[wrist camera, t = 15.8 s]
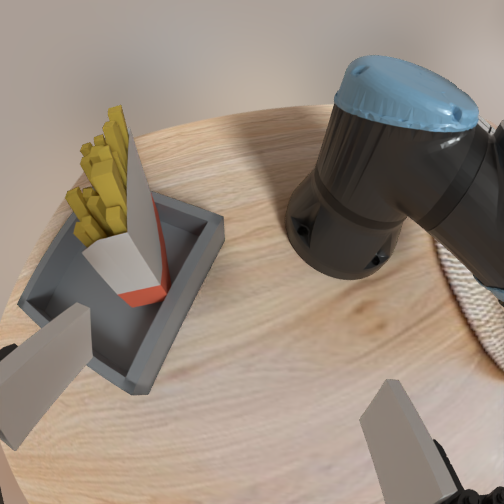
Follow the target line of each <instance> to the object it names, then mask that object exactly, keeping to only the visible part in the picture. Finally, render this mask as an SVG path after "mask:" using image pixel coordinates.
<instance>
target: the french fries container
mask: <svg viewBox="0 0 504 504" xmlns="http://www.w3.org/2000/svg"><path fill="white" fill-rule="evenodd" d="M108 117H109V120H110V121H109V122H106V123H105V124H104V126H103V132H104V135H105V139H104V136H103V134H102V135H99V136H96V137H94V144H95V146H92V144H91V143H90V142H89V143H86V144H83V145H82V147H81V150H80V152H81V153H82V154H83V156H84V157H82V160H81V163H80V165H81V167H82V169H83V170H84V172H85V174H86V176H87V177H88V179H89V181H90V183H91V184H92V186H93V188H94V189H95V190H94V189H93V188H92V187H87V188H84V189H83V194H82V192H81V190H80V188H79V187H76V188H74V189H72V190H69V191H67V194H66V197H65V199H66V200H67V202H68V204H69V205H70V207H71V208H72V210H73V211H74V213H75V215H76V216H77V218H78V219H79V221H80V222H76V224H75V229H74V233H73V234H74V235H75V236H76V237H77V238H78V239H79V240H80V241H81V242H82V243H83V244H84V245H85V246H86V247H87V248H86V249H85V250H84V251H83V252H82V254H83V255H84V257H85V258H86V259H87V260H88V261H89V263H90V264H91V265H92V266H93V267H94V269H95V270H96V271H97V272H98V273H99V274H100V276H101V277H102V278H103V279H104V280H105V281H106V283H107V284H108V285H109V286H110V287H111V288H112V289H113V290H114V291H115V293H116V294H117V295H118V296H120V297H121V298H122V299H123V300H124V301H125V302H126V303H127V304H129V305H130V306H131V307H132V308H133V307H138V306H143V305H147V304H152V303H157V302H161V301H164V300H165V298H166V296H167V294H168V292H169V290H170V288H171V280H170V274H169V267H168V261H167V254H166V247H165V241H164V236H163V232H162V228H161V223H160V219H159V214H158V210H157V208H156V205H155V202H154V199H153V197H152V194H151V191H150V188H149V185H148V182H147V179H146V176H145V173H144V170H143V167H142V164H141V161H140V158H139V155H138V152H137V149H136V146H135V142H134V139H133V136H132V133H131V129H130V127H129V128H127V126H126V122H125V118H124V114H123V110H122V106H121V105H119V106H116V107H112V108H109V109H108Z"/></svg>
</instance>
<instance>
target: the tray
mask: <svg viewBox="0 0 504 504" xmlns="http://www.w3.org/2000/svg"><path fill="white" fill-rule="evenodd" d="M92 188H93V187H92ZM93 189H94V188H93ZM94 190H95V189H94ZM151 194H152V197H153V199H154V202H155V205H156V208H157V210H158V214H159V219H160V223H161V228H162V232H163V236H164V241H165V247H166V254H167V261H168V267H169V274H170V280H171V288H170V290H169V292H168V294H167V296H166V298H165V300H164V301H161V302H157V303H152V304H147V305H143V306H138V307H133V308H132V307H131V306H130V305H129V304H127V303H126V302H125V301H124V300H123V299H122V298H121V297H120V296H118V295H117V294H116V293H115V291H114V290H113V289H112V288H111V287H110V286H109V285H108V284H107V283H106V281H105V280H104V279H103V278H102V277H101V276H100V274H99V273H98V272H97V271H96V270H95V269H94V267H93V266H92V265H91V264H90V263H89V261H88V260H87V259H86V258H85V257H84V255H83V254H82V252H83V251H84V250H85V249H86V248H87V247H86V246H85V245H84V244H83V243H82V242H81V241H80V240H79V239H78V238H77V237H76V236H75V235H74V234H73V233H74V229H75V224H76V222H80V221H79V219H78V218H77V216H76V215H75V213H74V211H73V213H72V214H71V215H70V217H69V218H68V219H67V221H66V222H65V224H64V225H63V227H62V228H61V229H60V231H59V232H58V234H57V235H56V237H55V238H54V240H53V241H52V243H51V245H50V246H49V248H48V249H47V251H46V253H45V254H44V256H43V257H42V259H41V261H40V262H39V264H38V266H37V268H36V269H35V271H34V273H33V275H32V276H31V278H30V280H29V282H28V284H27V286H26V288H25V289H24V291H23V293H22V295H21V297H20V299H19V301H18V303H17V305H18V306H19V307H20V308H21V309H22V310H23V311H24V312H25V313H26V314H27V315H28V316H29V317H30V318H31V319H32V320H33V321H34V322H35V323H36V324H37V325H39V326H40V327H41V328H43V327H44V326H45V325H47V324H48V323H49V322H51V321H52V320H53V319H55V318H56V317H57V316H59V315H60V314H61V313H63V312H64V311H65V310H67V309H68V308H69V307H71V306H72V305H74V304H75V303H76V302H77V303H80V304H82V305H84V306H86V307H89V308H90V320H91V340H92V353H93V358H92V359H91V360H90V361H89V362H88V363H87V366H88V367H90V368H91V369H92V370H94V371H95V372H97V373H98V374H99V375H101V376H102V377H104V378H105V379H107V380H108V381H110V382H111V383H113V384H114V385H116V386H117V387H119V388H121V389H122V390H124V391H125V392H127V393H129V394H130V395H148V394H149V392H150V390H151V388H152V386H153V383H154V381H155V379H156V377H157V375H158V373H159V371H160V369H161V366H162V364H163V362H164V360H165V358H166V356H167V354H168V352H169V350H170V348H171V346H172V344H173V341H174V339H175V337H176V335H177V333H178V331H179V329H180V327H181V325H182V323H183V321H184V319H185V317H186V315H187V313H188V311H189V309H190V307H191V305H192V303H193V301H194V299H195V297H196V295H197V293H198V291H199V289H200V287H201V285H202V283H203V281H204V279H205V278H206V276H207V274H208V272H209V270H210V268H211V266H212V264H213V262H214V260H215V258H216V256H217V254H218V252H219V251H220V249H221V247H222V245H223V243H224V241H225V234H224V216H221V215H218V214H215V213H212V212H210V211H207V210H204V209H201V208H199V207H196V206H193V205H190V204H187V203H184V202H182V201H179V200H176V199H173V198H170V197H167V196H164V195H161V194H158V193H156V192H153V191H151Z"/></svg>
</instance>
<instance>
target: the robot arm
mask: <svg viewBox="0 0 504 504" xmlns="http://www.w3.org/2000/svg"><path fill="white" fill-rule="evenodd" d="M478 115H479V110H478V107H477V105H476V104H475V102H474V101H473V100H472V99H471V98H470V97H469V95H467V94H466V93H465V92H463V91H462V90H460V89H459V88H457V86H456V85H455V84H453V83H452V82H450V81H449V80H447V79H445V78H444V77H442V76H440V75H438V74H436V73H434V72H432V71H430V70H428V69H426V68H423V67H421V66H419V65H416V64H413V63H411V62H407V61H404V60H401V59H397V58H392V57H387V56H379V55H370V56H363V57H360V58H357V59H355V60H354V61H352V62H351V63H350V65H349V66H348V68H347V69H346V72H345V75H344V78H343V81H342V83H341V86H340V89H339V91H337V93H336V95H335V97H334V106H333V110H332V113H331V117H330V120H329V124H328V127H327V130H326V134H325V137H324V140H323V144H322V147H321V150H320V153H319V157H318V160H317V163H316V166H315V168H314V169H313V170H312V172H311V173H310V174H309V175H308V176H307V177H306V178H305V179H304V180H303V181H302V182H301V184H300V185H299V186H298V187H297V188H296V189H295V191H294V192H293V194H292V196H291V198H290V201H289V204H288V208H287V212H286V218H285V224H286V230H287V234H288V237H289V240H290V242H291V244H292V246H293V247H294V249H295V250H296V252H297V253H298V254H299V255H300V257H301V258H302V259H303V260H304V261H305V262H306V263H308V264H309V265H310V266H311V267H313V268H314V269H316V270H317V271H319V272H321V273H323V274H325V275H328V276H330V277H334V278H337V279H343V280H356V279H362V278H365V277H368V276H370V275H372V274H373V273H375V272H376V271H378V270H379V269H380V268H381V267H382V266H383V265H384V264H385V263H386V262H387V261H388V260H389V258H390V257H391V255H392V253H393V252H394V249H395V246H396V243H397V240H398V237H399V234H400V231H401V227H402V224H403V221H404V220H405V219H406V218H407V216H408V217H410V218H411V219H412V220H413V221H415V222H416V223H417V224H418V225H420V226H421V227H422V228H423V229H424V230H425V231H427V232H428V233H429V234H430V235H431V236H433V237H434V238H435V239H436V240H437V241H438V242H440V243H441V244H442V245H443V246H444V247H445V248H446V249H447V250H448V251H450V252H451V253H452V254H453V255H454V256H455V257H456V258H457V259H458V260H459V261H460V262H461V263H462V264H463V265H465V266H466V267H467V268H468V269H469V270H470V271H471V272H472V273H473V276H474V278H475V279H476V280H477V282H478V283H479V284H480V285H482V286H483V287H485V288H486V289H488V290H489V291H491V292H492V293H493V294H494V295H495V296H496V297H497V298H498V299H499V300H501V301H503V302H504V120H502V121H501V123H500V125H499V126H498V128H497V129H496V131H495V132H494V134H492V135H491V134H489V133H488V132H487V131H485V130H484V129H483V128H482V127H481V126H480V125H479V124H477V123H478V121H479V118H478ZM92 358H93V353H92V340H91V320H90V308H89V307H86V306H84V305H82V304H80V303H77V302H76V303H75V304H74V305H72V306H71V307H69V308H68V309H67V310H65V311H64V312H63V313H61V314H60V315H59V316H57V317H56V318H55V319H53V320H52V321H51V322H49V323H48V324H47V325H45V326H44V327H43V328H41V329H40V330H39V331H37V332H36V333H35V334H34V335H32V336H31V337H30V338H28V339H27V340H26V341H25V342H23V343H22V344H21V345H20V346H17V345H16V344H12V345H9V346H6V347H3V348H2V349H1V350H0V439H1V440H2V441H3V442H5V443H6V444H7V445H8V446H9V447H10V448H12V449H13V450H14V451H16V450H17V449H18V447H19V446H20V445H21V444H22V442H23V441H24V440H25V438H26V437H27V436H28V434H29V433H30V432H31V431H32V429H33V428H34V427H35V425H36V424H37V423H38V422H39V420H40V419H41V418H42V417H43V415H44V414H45V413H46V412H47V410H48V409H49V408H50V407H51V406H52V404H53V403H54V402H55V401H56V400H57V398H58V397H59V396H60V395H61V394H62V392H63V391H64V390H65V389H66V388H67V386H68V385H69V384H70V383H71V382H72V381H73V379H74V378H75V377H76V376H77V375H78V374H79V373H80V371H81V370H82V369H83V368H84V367H85V366H86V365H87V363H88V362H89V361H90V360H91V359H92ZM359 421H360V424H361V427H362V429H363V432H364V435H365V438H366V441H367V444H368V448H369V451H370V454H371V457H372V460H373V463H374V466H375V470H376V473H377V476H378V479H379V483H380V486H381V489H382V493H383V496H384V500H385V503H386V504H504V487H501V486H500V487H497V488H496V489H495V490H493V491H492V492H491V493H490V494H487V495H479V494H478V493H477V492H476V491H474V490H471V489H467V490H464V488H463V487H462V485H461V483H460V481H459V479H458V477H457V475H456V473H455V471H454V469H453V467H452V465H451V464H450V461H449V459H448V457H446V456H447V455H446V453H445V451H444V449H443V447H442V446H441V445H440V444H439V443H438V442H437V441H436V440H435V439H433V440H432V438H431V436H430V434H429V432H428V430H427V429H426V427H425V425H424V423H423V421H422V419H421V418H420V416H419V414H418V412H417V411H416V409H415V407H414V405H413V403H412V402H411V400H410V398H409V397H408V395H407V393H406V391H405V390H404V388H403V386H402V385H401V383H400V381H399V380H392V379H386V380H385V382H384V383H383V385H382V386H381V388H380V390H379V391H378V393H377V394H376V396H375V397H374V399H373V400H372V402H371V403H370V405H369V406H368V408H367V409H366V411H365V412H364V413H363V415H362V416H361V418H360V419H359ZM0 504H4V502H3V497H2V493H1V488H0Z"/></svg>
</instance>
